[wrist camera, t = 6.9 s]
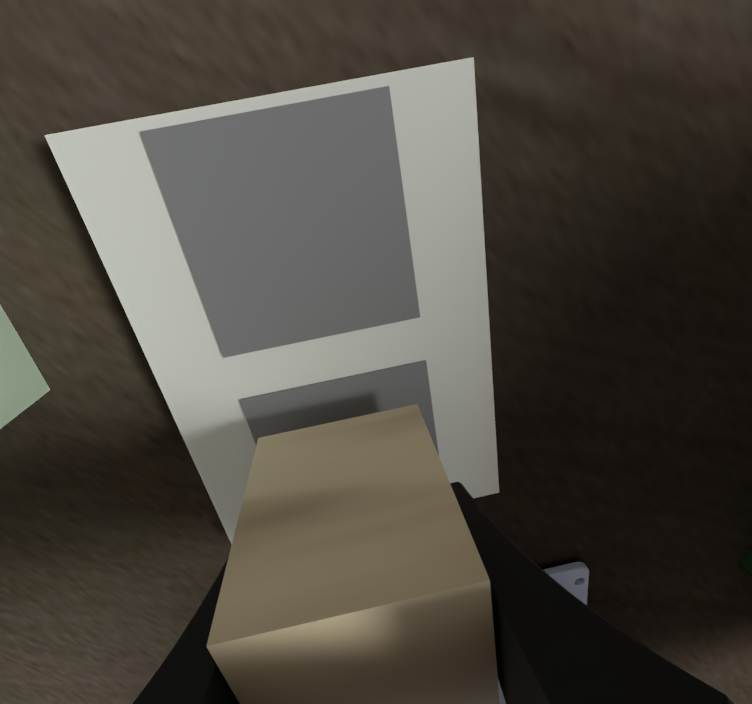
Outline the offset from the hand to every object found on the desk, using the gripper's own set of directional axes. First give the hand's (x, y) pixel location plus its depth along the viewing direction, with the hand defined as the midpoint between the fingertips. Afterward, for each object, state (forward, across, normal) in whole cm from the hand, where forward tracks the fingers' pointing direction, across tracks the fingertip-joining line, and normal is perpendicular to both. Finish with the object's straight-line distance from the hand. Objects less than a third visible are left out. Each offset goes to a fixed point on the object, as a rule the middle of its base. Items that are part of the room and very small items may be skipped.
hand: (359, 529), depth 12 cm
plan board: (+5, 0, -4) cm, 6 cm away
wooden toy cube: (+2, 0, 0) cm, 2 cm away
